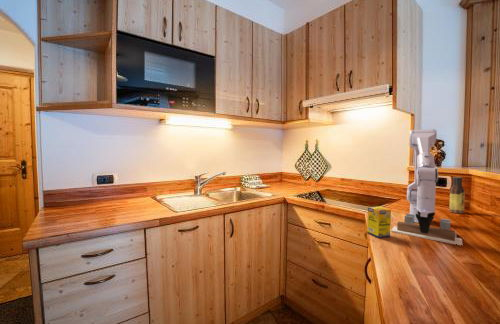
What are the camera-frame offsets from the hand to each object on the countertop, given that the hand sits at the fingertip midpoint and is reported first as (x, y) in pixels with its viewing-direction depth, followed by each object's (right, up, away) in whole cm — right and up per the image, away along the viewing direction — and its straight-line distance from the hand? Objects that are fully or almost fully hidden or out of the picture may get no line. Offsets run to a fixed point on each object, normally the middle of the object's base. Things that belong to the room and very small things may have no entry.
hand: (424, 231), depth 92 cm
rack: (+5, -2, +6) cm, 8 cm away
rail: (0, -1, 0) cm, 1 cm away
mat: (0, -2, 0) cm, 2 cm away
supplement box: (-18, -2, +1) cm, 18 cm away
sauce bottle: (+46, -1, +37) cm, 58 cm away
